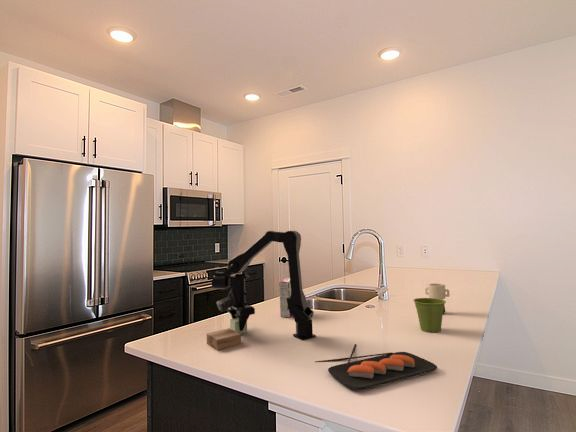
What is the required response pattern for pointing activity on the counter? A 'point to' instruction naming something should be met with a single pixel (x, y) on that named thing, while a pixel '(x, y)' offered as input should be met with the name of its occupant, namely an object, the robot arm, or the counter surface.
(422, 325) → the plant pot
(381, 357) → the sushi plate
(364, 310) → the counter surface
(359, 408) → the counter surface
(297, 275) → the robot arm
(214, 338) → the walnut block
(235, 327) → the green cube
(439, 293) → the character mug
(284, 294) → the candy bar box
